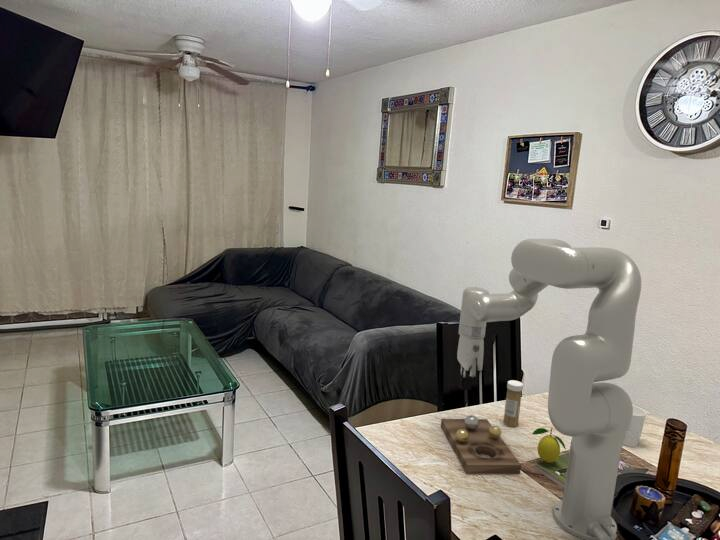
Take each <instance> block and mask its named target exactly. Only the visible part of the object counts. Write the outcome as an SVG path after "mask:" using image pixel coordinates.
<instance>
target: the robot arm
mask: <svg viewBox="0 0 720 540" xmlns="http://www.w3.org/2000/svg"><path fill="white" fill-rule="evenodd" d="M510 261H511V265H512V266H511V267H512V269H511V270H510V271H509V274H508V281H509V284H510V286H511V288H512V289H513V290H512V291H511V292H508V293H490V292H489V291H488V289H485V288H483V287H474V286H470V287H466V288H465V289H464V290H462V291H463V292H462V298H461V307H460V308H461V309H460V314H459V315H460V317H459V325H458V335H459V338H458V345H457V352H456V355H457V356H456V357H457V358H456V359H457V361H458V362H459V364H460V377H459V378H460V379H459V388H460V390H462V391H470V390H472V387H473V378H474V377H476V376H477V375H476V374H477V372H476V371H479V372H481V371H483V365H484V353H485V352H484V351H485V350H484V348H485V347H484V346H485V345H484V344H485V341H484V338H485V337H486V328H487V323H492V322H501V321H502V322H506V321H514V320H516V319H520V318H521V317H523V316H524V315H525V314H527V313H528V312H530V311H531V310H532V309H533V308H534V307H535V305H536V304H537V301H538V297H539V293H541V292H542V291H543V290H544V289H546V288H547V287H548V286H552V287H555V288H559V289H565V290H572V289H592V288H593V289H594V288H596V289H598V293H597V294H596V296H595V297H594V299H593V301H592V303H591V305H590V308H589V311H588V316H587V317H588V318H587V325H586V331H585V333H584V334H576V335H570V336H567V337H565V338H563V339H562V340H560V341H559V342H558V344H557V345H556V347H555V349H554V350H553V352H552V353H553V354H552V358H551V365H550V376H549V385H548V395H547V396H548V397H547V413H548V416H549V417H548V418H549V420H550V422H551V425H552V426H553V427H554V428H555V430H556V431H557V432H559V433H560V434H562V435H563V436H566V437H570V438H571V440H570V446H569V452H568V459H567V464H566V465H567V466H566V472H565V474H566V475H565V480H564V487H563V494H562V499H561V500H559V501H557V502H556V503H555V504H554V506H553V508H552V509H553V510H552V514H553V518H554V520H555V521H556V522H557V524H558V525H559V526H560V527H561V528H562V529H564V530H565V531H566V532H568V533H570V534H571V535H573V536H574V537H577V538H580V539H581V540H582V539H583V540H616V539H617V537H618V535H617V529H618V527H617V522H616V521H615V519H614V518H613V517H612V516H611V515H612V508H613V503H614V496H615V490H616V483H617V479H618V473H619V468H620V467H619V465H620V461H621V454H622V450H623V446H624V445H623V442H624V439H625V436H626V433H627V431H628V428H629V426H630V423H631V420H632V415H633V406H632V405H633V401H632V399H631V397H630V395H629V394H628V393H627V392H626V391H625V390H624V388H623V387H621V386H618V385H616V384H614V383H611V382H606V381H611V380H616V379H619V378H622V377H624V376H625V375H626V374H627V373H628V372H629V369H630V367H631V362H632V354H633V345H634V337H635V329H636V328H635V327H636V318H637V317H636V316H637V311H638V306H639V303H640V302H639V301H640V298H641V297H640V296H641V291H642V277H641V272H640V269H639V267H638V265H637V264H636V263H635V261H634V260H633V259H632V258H631V257H630V256H629V255H628V254H627V253H625V252H623V251H620V250H618V249H614V248H609V247H598V246H596V247H595V246H594V247H593V246H591V247H590V246H589V247H572V246H571V244H569V243H567V242H565V241H564V240H561V239H556V238H527V239H523V240H521V241H520V242H519V243H517V245H516V246H515V247H514V248H513V250H512V252H511V258H510ZM604 381H605V382H604Z"/></svg>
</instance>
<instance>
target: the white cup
mask: <svg viewBox="0 0 720 540" xmlns="http://www.w3.org/2000/svg"><path fill="white" fill-rule="evenodd" d="M632 406H633V415H632V420H631V423H630V426H629V428H628V431H627V433H626V436H625V439H624V442H623V446H625V447H631V448H635V447H638V445H639V444H640V443H639V442H640V439H641V437H642V433H643V428H644V425H645V419H646V416H647V412H646V411H645V410H644V409H643V408H641V407H639V406H638V405H637V406H636V405H633V404H632Z"/></svg>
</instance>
